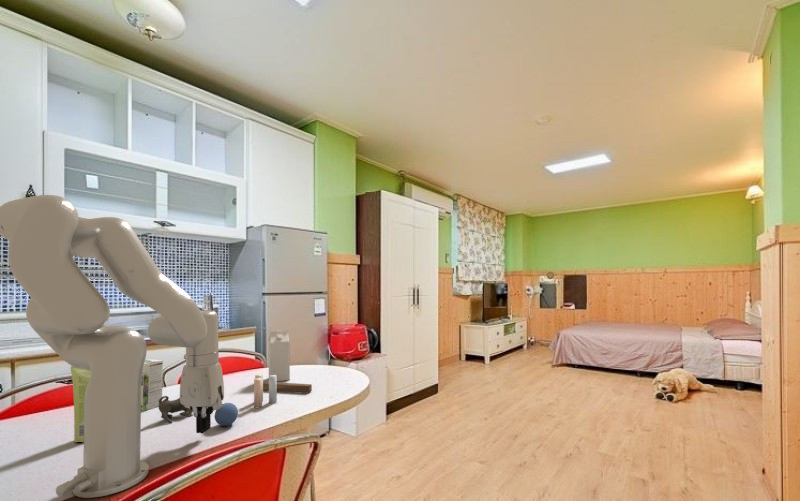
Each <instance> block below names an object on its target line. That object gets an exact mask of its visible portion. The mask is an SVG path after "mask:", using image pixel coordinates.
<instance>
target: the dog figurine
mask: <svg viewBox="0 0 800 501" xmlns="http://www.w3.org/2000/svg"><path fill="white" fill-rule="evenodd" d="M158 410H159V412H160V414H161V416H160V417H161V418H162V419H164V420H165V422H167V423H168V424H173V420H172V419H170V418H172V417H174V415H172V414H174V413H178V412H180V413H179V414H178V415H180V416H182V417H192V416H193V412H192V410H191V409H189V408H186V407H184V405H182V404H181V403H180V397H179V398H177V399H173V400H169V396H167V395H162V397H161V398H160V399H159V406H158ZM170 413H171V414H170Z"/></svg>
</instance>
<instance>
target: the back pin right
mask: <svg viewBox="0 0 800 501" xmlns="http://www.w3.org/2000/svg"><path fill="white" fill-rule="evenodd" d="M268 382H269V391H268V404H269V405H270V404H277V401H278V399H277V398H278V397H277V396H278V394H277V392H278V391H277V382H278V381H277V375H270V376H269V375H268Z"/></svg>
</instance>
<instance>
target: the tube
mask: <svg viewBox="0 0 800 501" xmlns="http://www.w3.org/2000/svg"><path fill="white" fill-rule="evenodd" d="M70 372H71V379H72V380H71V381H72V392H73V394H72V395H73V418H74V419H73V420H74V421H73V423H74V425H73V426H74V428H73V429H74V431H73V432H74V434H73V436H74V438H73V440H74V442H75V443H76V442H82V443H84V399H85V392H86V388H87V385H88V382H89V379H90V376H91V371H89V370H83V369H79V368H76V367H73V366H71V365H70Z"/></svg>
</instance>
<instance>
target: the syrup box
mask: <svg viewBox="0 0 800 501" xmlns="http://www.w3.org/2000/svg"><path fill="white" fill-rule="evenodd" d="M163 364H164V360H160V359H159V360H158V359H152V358H151V359H145V363H144V367H143V372H142V381H141V411H149V410H151V409H152V410H153V409H154V408H157V407H159V399H160V398H161V397H163V380H164V379H163V377H164V376H163V375H164V374H163V373H164V372H163V371H164V370H163V366H164V365H163Z"/></svg>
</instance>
